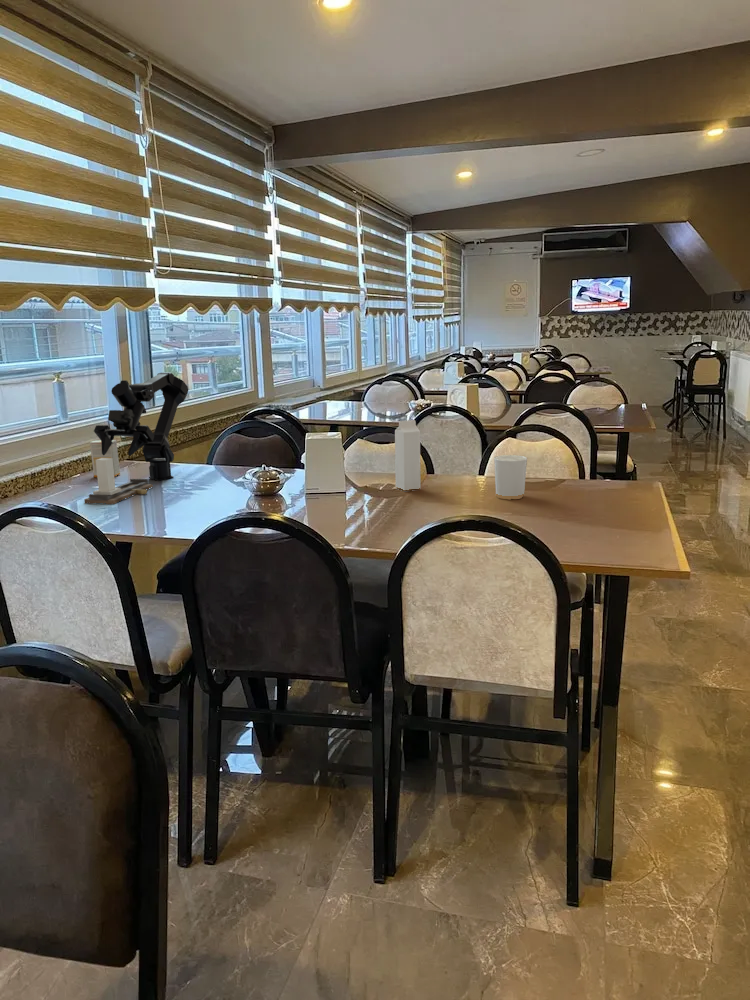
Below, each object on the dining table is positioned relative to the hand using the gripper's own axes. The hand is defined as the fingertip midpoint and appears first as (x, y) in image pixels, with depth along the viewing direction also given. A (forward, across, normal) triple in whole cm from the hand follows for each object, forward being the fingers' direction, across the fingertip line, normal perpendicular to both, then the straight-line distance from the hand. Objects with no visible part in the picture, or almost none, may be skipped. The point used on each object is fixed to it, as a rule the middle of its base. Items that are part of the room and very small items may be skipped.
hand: (115, 454), depth 241 cm
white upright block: (+13, 0, +4) cm, 14 cm away
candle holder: (0, +123, +19) cm, 124 cm away
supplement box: (-11, -22, +30) cm, 39 cm away
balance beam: (+9, 0, +10) cm, 13 cm away
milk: (-6, +90, +24) cm, 94 cm away
